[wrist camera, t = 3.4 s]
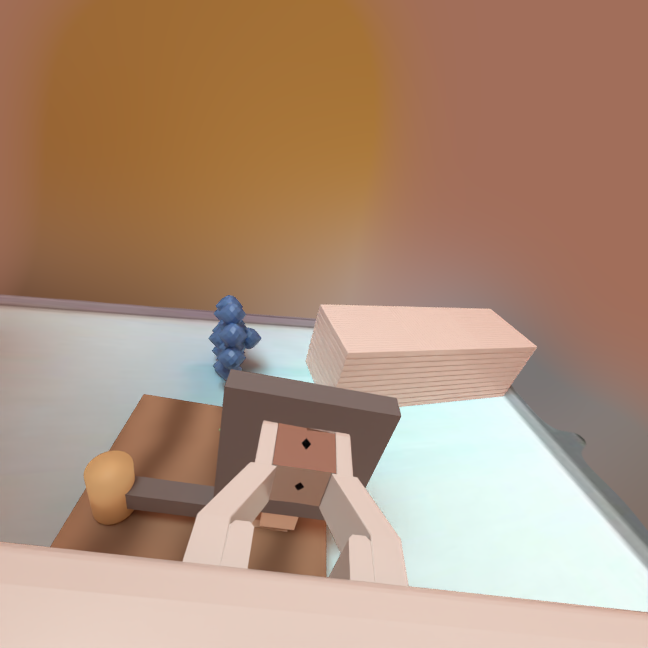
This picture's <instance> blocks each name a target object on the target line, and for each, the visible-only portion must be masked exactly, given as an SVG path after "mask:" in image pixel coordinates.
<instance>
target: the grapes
mask: <svg viewBox="0 0 648 648" xmlns="http://www.w3.org/2000/svg"><path fill="white" fill-rule="evenodd" d="M216 307H217V310H216V311H215V312H214V315H215V316H216V317H217V318H218V319H219V320H220V322H219V323H218V325H217V326H216V327H215V328H214V329H213V330H212V331H213V332H214V333H213V334H212V335H211V336H210V337H209V340H210V341H211V342H212V343H213V344H214V345H215V346H216V347H215V348H214V349H213V350H212V351H213V353H214V354H215V355H216V356H217V359H218V361H217V362H216V363H215V364H214V365H213V367H214V368H215V371H216V372H217V373H218V374H219V375H220V376H221V377H222V378H223V379H224V380H227V378H228V376H229V373H230V370H231V369H234V370H240V371H241V370H242V368H241V367H240V364H241V363H242V362H243V361H244V360H245V358H246V357H245V356H244V353H245V352H244V350H245V348H247V349H251V348H253V347H254V346H255V345H256V344H257V343H258V342H259V341H260V340H261V337H260V336H259V334H258V333H257V332H256V331H255V330H254V329H252V328H247V327H246V326H245V325H244V324H245V323H244V322H243V321H242V319H243V318H244V317H245V316H246V314H245V312H244V311H243V309H242V305H241V304H240V302H239V301H238V300H237V299H236V298H235V297H234V296H230V295H228V296H226V297H224V298H222V299H221V300H220V302H219V303H218V304H217V305H216Z"/></svg>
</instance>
